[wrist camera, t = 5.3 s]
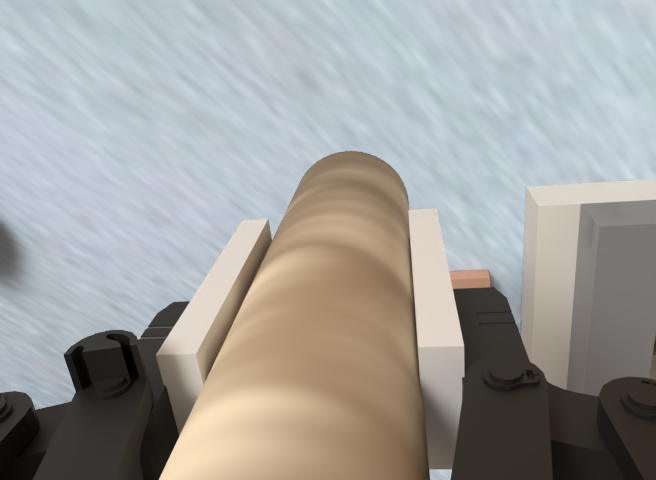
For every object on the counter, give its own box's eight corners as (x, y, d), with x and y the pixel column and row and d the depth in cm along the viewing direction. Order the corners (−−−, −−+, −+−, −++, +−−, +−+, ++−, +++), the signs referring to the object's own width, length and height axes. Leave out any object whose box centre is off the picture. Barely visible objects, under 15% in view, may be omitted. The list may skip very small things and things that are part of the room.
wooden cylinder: (302, 260, 21) (104, 861, 7) (288, 155, 20) (-12, 639, 5) (411, 254, 21) (456, 895, 6) (405, 146, 19) (449, 661, 4)
